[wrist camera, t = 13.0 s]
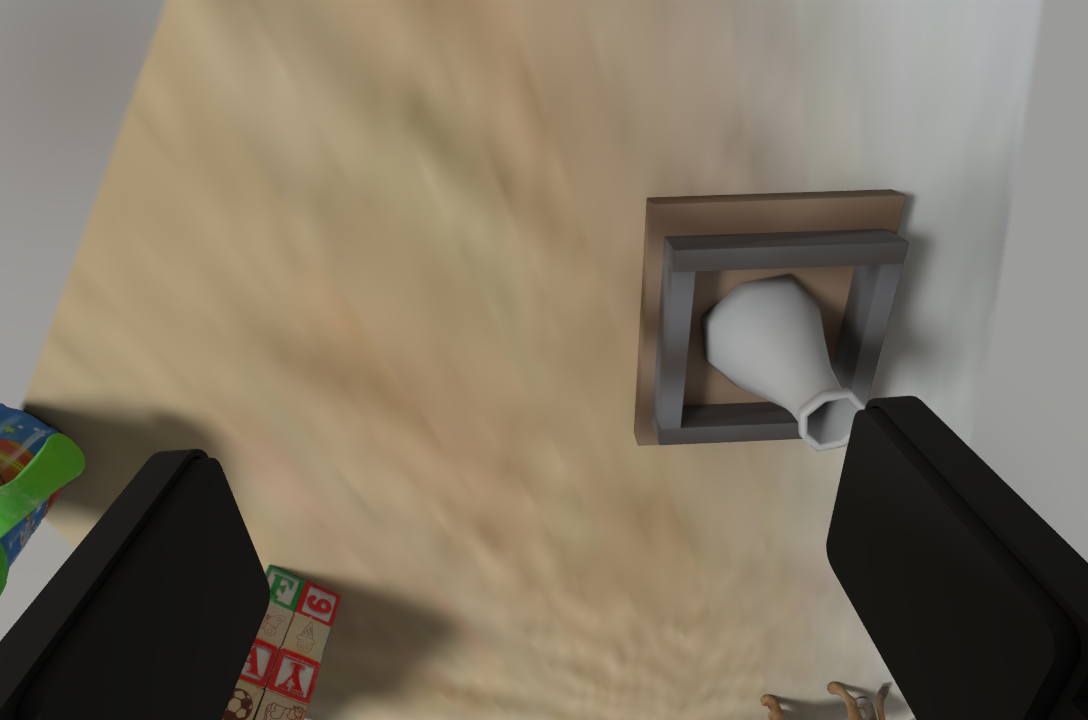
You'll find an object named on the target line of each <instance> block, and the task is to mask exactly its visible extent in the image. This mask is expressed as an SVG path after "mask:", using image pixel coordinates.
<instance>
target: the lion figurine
mask: <svg viewBox="0 0 1088 720" xmlns="http://www.w3.org/2000/svg"><path fill="white" fill-rule="evenodd" d="M827 689H828V692H829V693H830V694H837V695H839V696H840V697H841V698H842V699H843V700H844V702H845V703H846V706H847V713H848V720H877V717H876V714H875V711H874V708H873V705H872V703H871V702H870V701H869V700H868V699H866V698H858V699H856V700H855V699H854V698H853V697H852V696H851V695H850V694H849V693H847V691H846V690H845V689H844V688H843V687H842V686H841V685H840V684H839V683H835V682H832V683H830V684H828V687H827ZM888 690H889V687H888V686H886V687H881V688H880V689H879V691H878V695H877V711H878V718H879V720H886V719H885V716H884V711H883V703H884V699H885V697H886V696H887V693H888ZM761 703H762V705H763V706H768V708H769V709H770V710H771V712H769V715H768V718H769V719H770V720H787V717H786V716H785V715H784V713H783V712H782V710H781V707H780V705H779V703H778V702H777V701H776V699H775V698H774V697H773V696H771V695H764V696H762V698H761ZM858 708H860V709H864V710H865V711H866V715H865V718H864V719H863V717H862V716H861V714H860V713H859V710H858Z"/></svg>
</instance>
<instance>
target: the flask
mask: <svg viewBox="0 0 1088 720" xmlns="http://www.w3.org/2000/svg"><path fill="white" fill-rule="evenodd" d="M702 324H703V335H704V347H705V359H706V361H708V362H709V363H710V364H711V365H712V366H713V367H714V368H716V369H717V370H718V371H719V372H720V373H721V374H722V375H724V376H725V377H726V378H727V379H728V380H729V381H730V382H732V383H733V384H734V385H735V386H737V387H739V388H741V389H743V390H746V391H748V392H751V393H753V394H756V395H758V396H761V397H763V398H765V399H767V400H769V401H771V402H773V403H775V404H777V405H779V406H782V407H784V408H786V409H787V410H788V411H789V412H791V413H792V415H793V416H794V417H795V419H796V420H797V421H798V432H799V435H800V436H801V437H802V438H803V439H804V440H805V441H806V442H807V443H808V444H810V445H811V446H812V447H813V448H814V449H815V450H816V451H823V450H828V449H834V448H839V447H844V446H846V445H847V444H848V441H849V437H850V432H851V428H852V423H853V419H854V416H855V413H856V412H857V411H858V410H861V409H865V406H866V405H865V404H864V403H863V402H862V401H861V400H860V399H859V398H858V397H857V396H856V395H855V394H854V393H853V392H852V391H851V390H850V389H848V388H841V386H840V384H839V382H838V380H837V378H836V376H835V374H834V372H833V370H832V368H831V365H830V360H829V356H828V352H827V347H826V343H825V338H824V332H823V325H822V319H821V313H820V308H819V304H818V303H817V302H816V301H815V300H814V299H813V298H812V297H811V296H810V295H809V294H808V292H807V291H806V290H805V289H804V288H803V287H802V286H801V285H800V284H799V283H798V282H797V281H796V280H795V279H794V278H793V277H792V276H791V275H790V274H785V275H780V276H775V277H770V278H765V279H760V280H755V281H750V282H745V283H740V284H738V285H737V286H736V287H735V288H734V289H733V290H732V291H731V292H730V293H729V294H727V295H726V296H725V297H724V298H723V299H722V300H721V301H720V302H719V303H718V304H717V305H716V306H715V307H713V308H712V309H711V310H710V311H709V312H708V313H707V314H706V315H705V316H704V317H703V318H702Z"/></svg>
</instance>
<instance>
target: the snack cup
mask: <svg viewBox="0 0 1088 720" xmlns="http://www.w3.org/2000/svg"><path fill="white" fill-rule="evenodd" d="M85 465H86V460H85V457H84V455H83V452H82V451H81V449H80V448H79V447H78V446H77V445H76V444H75V443H74V442H73V441H72V440H71V439H70V438H69V437H67V436H65V435H63V434H60V433H59V432H58V431H57V430H55V429H53V428H52V427H48V426H47V425H46V424H44V423H43V422H41V421H40V420H38V419H36V418H35V417H33V416H32V415H30V414H27V413H25V412H23V411H21V410H18V409H12V408H9V407H6V406H5V405H4V404H0V595H1V594H2V592H3V590H4V587H5V585H6V582H7V581H6V580H7V576H8V571H9V568H10V566H11V565H12V563H13V562H14V561H15V559H16V558H17V556H18V555H19V554H20V552H21V551H22V549H23V548H24V546H25V545H26V543H27V541H28V540H29V538H30V537H31V535H32V534H33V533H34V532H35V530H36V529H37V527H38V526H39V524H40V523H41V520H42V519H43V518H44V517H45V516H46V514H47V513H48V511H49V510H50V508H51V507H52V505H53V504H54V502H55V501H56V499H57V498H58V496H59V495H60V493H61V491H62V490H63V488H64V487H65V485H66V484H67V483H68V482H70V481H71V480H73V479H75V478H76V477H78V476H79V475H80V474H81V473H82V472H83V470H84V468H85Z"/></svg>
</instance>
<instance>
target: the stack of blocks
mask: <svg viewBox="0 0 1088 720" xmlns="http://www.w3.org/2000/svg"><path fill="white" fill-rule="evenodd" d="M264 572H265V575H266V577H267V580H268V582H269V586H270V602H269V606H268V609H267V612H266V614H265V617H264V619H263V622H262V624H261V626H260V629H259V631H258V634H257V636H256V639H255V641H254V643H253V646H252V648H251V651H250V653H249V655H248V658H247V660H246V663H245V665H244V667H243V670H242V672H241V675H240V677H239V679H238V682H237V684H236V687H235V689H234V692H233V694H232V696H231V699H230V701H229V704H228V706H227V708H226V711H225V713H224V716H223V718H222V720H304V718H305V714H306V710H307V706H308V704H309V702H310V699H311V696H312V693H313V690H314V687H315V683H316V680H317V676H318V672H319V669H320V663H321V661H322V657H323V653H324V649H325V646H326V643H327V640H328V637H329V633H330V630H331V628H332V626H333V622H334V619H335V615H336V611H337V608H338V606H339V602H340V599H341V596H339V595H337V594H334V593H332V592H330V591H328V590H326V589H323V588H321V587H319V586H317V585H315V584H312V583H310V582H308V581H305V580H302V579H300V578H298V577H296V576H294V575H292V574H289V573H287V572H285V571H283V570H281V569H278V568H276V567H274V566H272V565H268V566H267V568H266V569H265V570H264Z"/></svg>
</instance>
